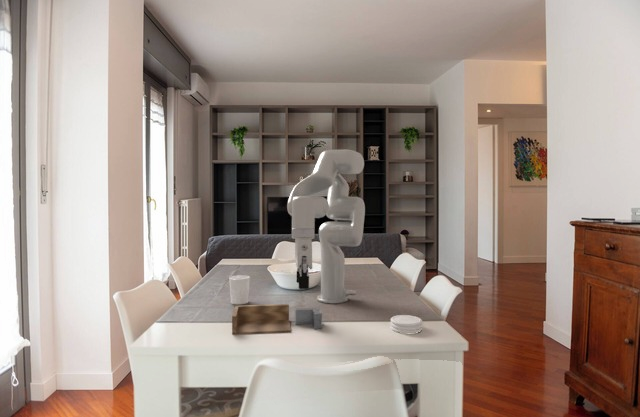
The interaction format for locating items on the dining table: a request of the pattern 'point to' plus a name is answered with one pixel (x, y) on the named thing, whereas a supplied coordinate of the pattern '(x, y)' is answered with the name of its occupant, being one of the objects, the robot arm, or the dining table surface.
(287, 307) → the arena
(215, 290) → the dining table surface
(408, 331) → the coaster
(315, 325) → the bracket
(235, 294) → the white cup
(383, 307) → the dining table surface
